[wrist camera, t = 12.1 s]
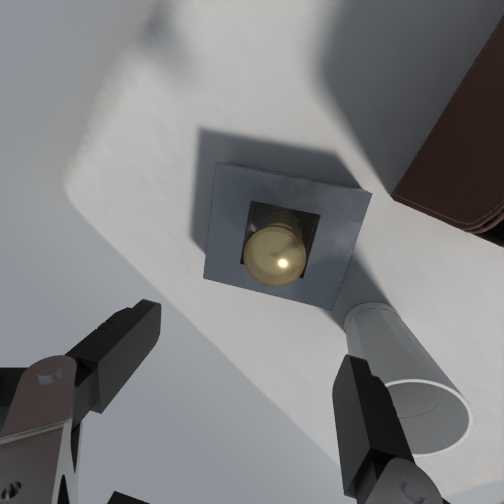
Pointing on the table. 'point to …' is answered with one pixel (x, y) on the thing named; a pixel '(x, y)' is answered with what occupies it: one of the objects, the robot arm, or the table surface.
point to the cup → (409, 379)
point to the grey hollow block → (293, 197)
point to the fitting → (276, 250)
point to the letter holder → (465, 153)
